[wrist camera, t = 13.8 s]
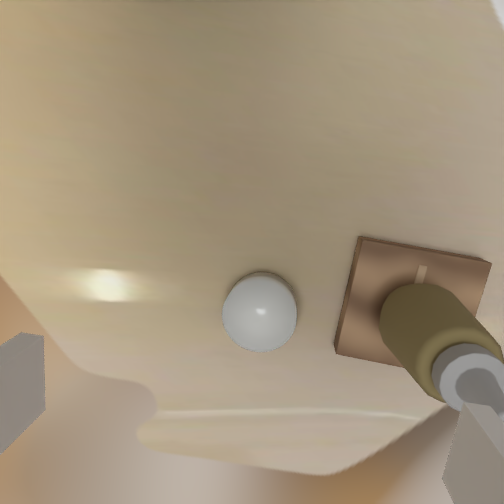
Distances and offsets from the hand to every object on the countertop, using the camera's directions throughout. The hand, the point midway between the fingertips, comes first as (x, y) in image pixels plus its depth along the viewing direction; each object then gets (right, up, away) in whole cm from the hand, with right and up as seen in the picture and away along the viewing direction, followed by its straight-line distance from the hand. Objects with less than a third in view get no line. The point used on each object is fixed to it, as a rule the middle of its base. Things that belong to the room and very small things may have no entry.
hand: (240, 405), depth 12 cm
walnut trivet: (+17, -1, +31) cm, 35 cm away
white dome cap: (+2, -1, +32) cm, 32 cm away
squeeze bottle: (+17, -1, +28) cm, 33 cm away
